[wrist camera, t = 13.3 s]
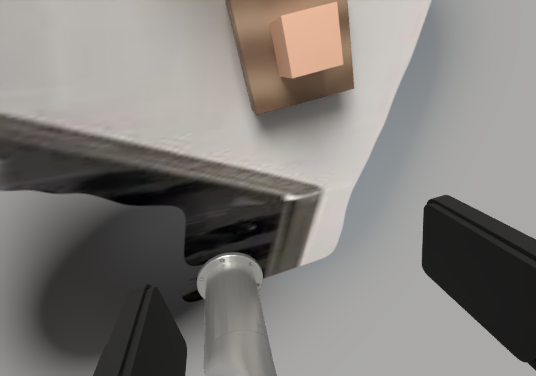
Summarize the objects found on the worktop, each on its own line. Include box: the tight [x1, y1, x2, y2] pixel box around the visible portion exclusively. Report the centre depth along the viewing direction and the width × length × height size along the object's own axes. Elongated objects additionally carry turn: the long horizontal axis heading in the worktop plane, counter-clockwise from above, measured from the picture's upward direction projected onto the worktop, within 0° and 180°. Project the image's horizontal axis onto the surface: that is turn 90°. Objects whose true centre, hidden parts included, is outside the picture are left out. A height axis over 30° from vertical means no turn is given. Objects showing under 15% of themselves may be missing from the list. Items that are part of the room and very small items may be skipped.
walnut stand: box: [226, 0, 354, 114], centre depth 36 cm, size 14×14×5 cm
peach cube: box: [269, 2, 343, 78], centre depth 31 cm, size 6×6×6 cm
